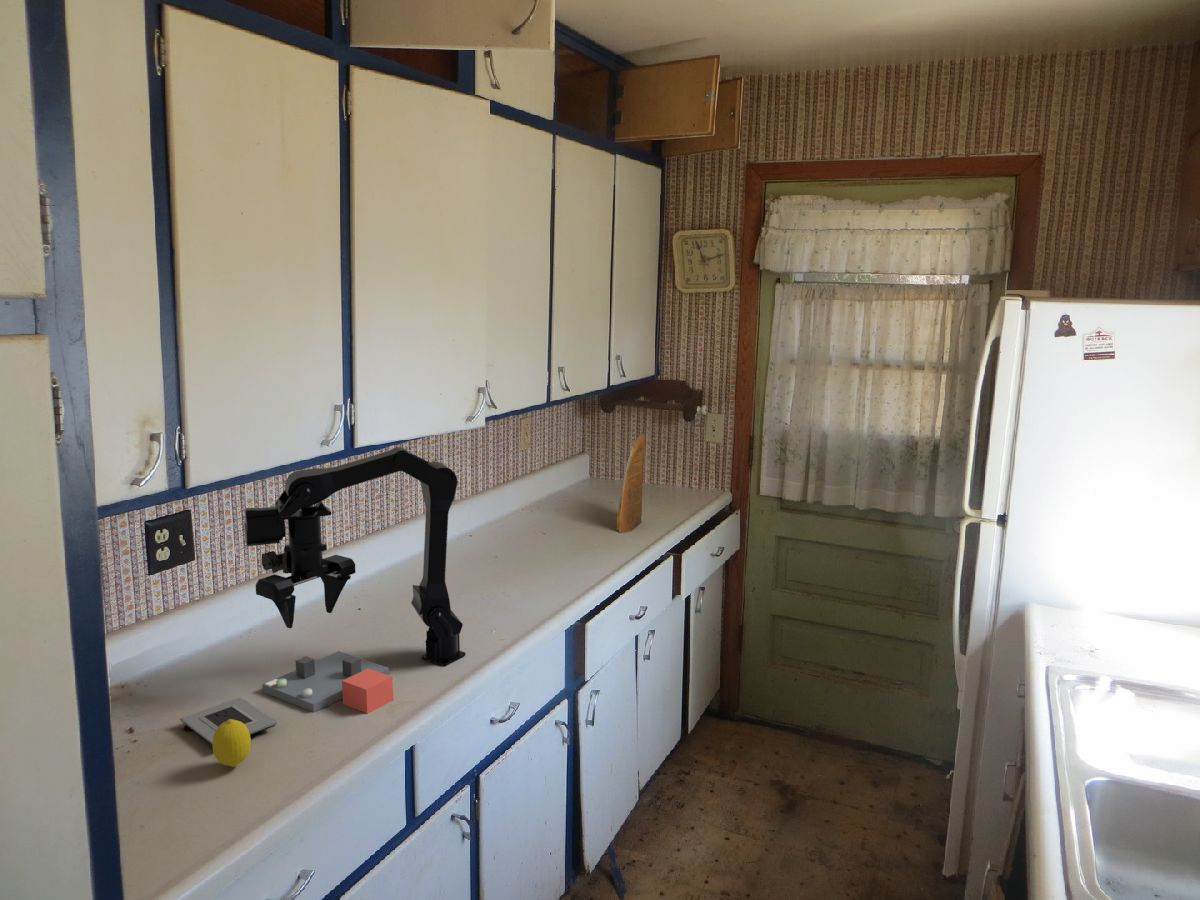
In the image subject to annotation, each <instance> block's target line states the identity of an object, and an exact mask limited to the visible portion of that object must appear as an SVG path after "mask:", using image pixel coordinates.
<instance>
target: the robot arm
mask: <svg viewBox="0 0 1200 900" xmlns="http://www.w3.org/2000/svg"><path fill="white" fill-rule="evenodd" d="M397 472H398V473H399V472H403V473H405V474H406V475H408V476H410V477H412V478H414V479H416V480H418V481H419V482H420V488H421V495H422V498H423V501H424V506H425V521H424V522H425V524H424V526H425V527H424V547H423V548H424V550H423V565H422V566H423V570H422V571H423V572H422V579H421V581H420V583H419V585H414V584H413V585H412V594H413V595H412V600H411V605H412V608H414V611H415V613H416V614H417V615H418V617H419V618H420V619H421V620H422V622H423V624H424V625H426V626H427V627H428V629H427V630H426V634H425V635H426V639H425V654H424V653H423V654H422V655H421V657H420V658H421V659H422V660H425V661H428V662H431V663H434V664H438V665H440V666H444V667H445V666H448V665H449V663H450V664H451V663H454V662H455V661H457V660H459V659H461V658H463V657H465V656H466V652H465V651H462V650H461V649H460V646H461V645H460V642H461V641H460V634H461V631H462V629H463V625H464V624H463V622H462V621H461V620H460V619H459V618H458V616H457V615H456V614H455V612H453V610H452V609H451V608H452V607H451V602H450V596H449V592H448V591H449V590H448V587H447V583H446V571H447V570H446V569H447V568H446V567H447V547H448V545H447V544H448V531H449V530H448V527H449V525H448V524H449V511H450V509H451V507H452V504H453V502H454V500H455V497H456V492H457V487H458V484H459V483H458V481H459V480H458V477H457V474H456V473H455V471H453V470H452V469H451V467H448V466H447V465H445V464H444V463H442V462H439V461H432V462H429V461H427V460H425V459H424V458H422V457H420V456H418V455H415V454H414V453H411V452H410V451H409V450H408V449H406V448H405V447H402V446H396V447H393V448H392V449H390V450H388V451H384V452H380V453H377V454H374V455H371V456H366V457H364V458H361V459H360V458H359V459H357V460H354V461H350V462H348V463H344V464H341V465H336V466H334V467H327V468H326V467H323V468H322V467H321V468H317V467H316V468H315V467H314V468H305V469H299V470H296V471H293V472H291V473H289V475H288V476H287V478H286V480H285V482H284V490H283V491H282V492H281V494H280V495H279V497H278V498H277V500H276V501H275V503H274V506H267V507H260V508H259V507H246V508H245V509H244V523H243V528H244V529H243V531H244V538H245V539H244V540H245V545H246V547H256V546H265V545H273V544H274V545H277V544H280V542H281V541H283V540H284V539H283V538H286V532H287V531H286V522H285V521H286V520H287V524H288V525H287V530H288V544H286V545H284V547H283V552H281V553H278V554H277V553H276V551H275V550H271V551H267V552H264V553H262V554H261V565H262V568H263V570H264V571H268V570H271V573H272V575H268V576H265V577H262V578H259V579H258V580H257V581H256V583H255V594H256V595H257V596H259V597H260V596H261V597H263V598H265V599H268V600H271V601H272V602H273V603H274V605H275V606H276V608H277V610H278V612H279V613H280V616H281V618H282V621H283V623H284V624H285V627H286V628H288V629H293V626H294V619H295V608H296V597H297V596H296V595H293V593H294V591H295V587H296V586H298V585H302V584H304V583H306V582H310V581H313V580H316V579H318V578H320V579H321V581H322V583H323V588H324V589H323V591H324V605H325V611H326V613H327V614H331V613H333V611H334V608H335V606H336V604H337V602H338V600H339V597H340V596H341V593H342V591H343V589H344V588H345V586H346V585H347V582H348V581H349V580H351V579H352V577H351V575H354V574H356V570H357V569H356V562H355V561H354V560H353V559H352V558H350V557H346V556H343V555H338V554H334V555H330V556H328V557H324V556H323V552H324V551H328V549H327V547H328V546H327V545H328V544H326V543H323V539H322V526H321V525H322V522H321V520H322V519H321V517H328V516H331V515H332V511H331V510H330V508H329V507H328V506H326V505H325V504H324V503H323V501H325V500H326V499H328V498H329V497H331V496H332V495H334V494H335V493H337V492H338V491H340V490H344V489H346V488H349V487H352V486H356V485H359V484H363V483H366V482H369V481H373V480H375V479H378V478H381V477H385V476H389V475H391V474H392V475H393V474H395V473H397ZM323 557H324V558H323ZM279 571H282V573H284V574H290V575H288V576H287V577H286V576H282V575H278V574H276V573H278V572H279ZM447 664H448V665H447Z"/></svg>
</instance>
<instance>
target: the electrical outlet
mask: <svg viewBox="0 0 1200 900" xmlns="http://www.w3.org/2000/svg"><path fill="white" fill-rule="evenodd" d="M229 719H232V720H237V721H240V722H242V723H243V724H244V725H245V726H246V727H247V728H248V731H249V734H250V737H252V736H253V735H256V734H258V733H260V732H261V733H262V732H264V731H266V730H269V729H272V728H274V727H275V726H276V725H278V721H276V720H275V719H274V718H272V717H271V716H269V715H267V714H266V713H264V712H263V711H261V710H259V708H257V707H256V706H254V705H253V704H251V703H249V702H247V701H246V700H245V699H243V698H242V697H237V698H235V699H232V700H228V701H226V702H223V703H221V704H217V705H215V706H212V707H209V708H206V709H203V710H200V711H198V712H195V713H191V714H189V715H185V716H183V717H180V718H179V720H180V721H181V722H182V723H184V725H186V726H187V727H188V728H189V729H192V731H194V733H196V734H197V735H199V736H200V737H202V738H203V739H204V740H205V741H207V742H208V743H209V744H211V745H212V746H213V737H214V733H215V731H216V729H217V728H218V727H219V726H220V725H221V724H222V723H224V722H226V721H228V720H229Z"/></svg>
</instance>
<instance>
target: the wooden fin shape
mask: <svg viewBox="0 0 1200 900" xmlns="http://www.w3.org/2000/svg"><path fill="white" fill-rule="evenodd" d="M645 435H646V434H644V433H643V432H642V433H640V434H639V436H638V437H637V438H636V440H634V441H633V442H632V443H631V444H632V445H631V451H630V454H629V457H628V460H627V463H626V466H625V470H624V475H623V481H622V487H621V493H620V500H619V505H618V510H617V511H618V512H617V517H616V531H617V532H619V533H629V532H632V531H633V530H634V529H636V527H638V526H639V525H640V524H641V523H642V515H643V514H642V512H643V509H642V508H643V503H642V502H643V466H644V465H643V464H644V455H645V450H646V436H645Z"/></svg>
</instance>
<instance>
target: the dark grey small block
mask: <svg viewBox="0 0 1200 900" xmlns="http://www.w3.org/2000/svg"><path fill="white" fill-rule="evenodd" d="M361 659H362V658H360V657H358V656H355V655H352V656H350V657H348V658H346V659H343V660H342V666H343V675H344V676H347V677H351V676H353V675H355V674H357V673H360V672H361Z"/></svg>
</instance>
